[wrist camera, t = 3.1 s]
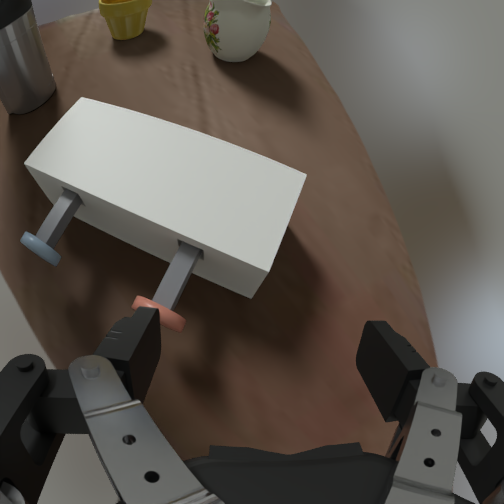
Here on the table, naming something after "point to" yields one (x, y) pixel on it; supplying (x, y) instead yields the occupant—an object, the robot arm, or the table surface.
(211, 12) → the pitcher
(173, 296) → the red key
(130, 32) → the plant pot
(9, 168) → the table surface
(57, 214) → the blue key
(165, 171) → the key box
